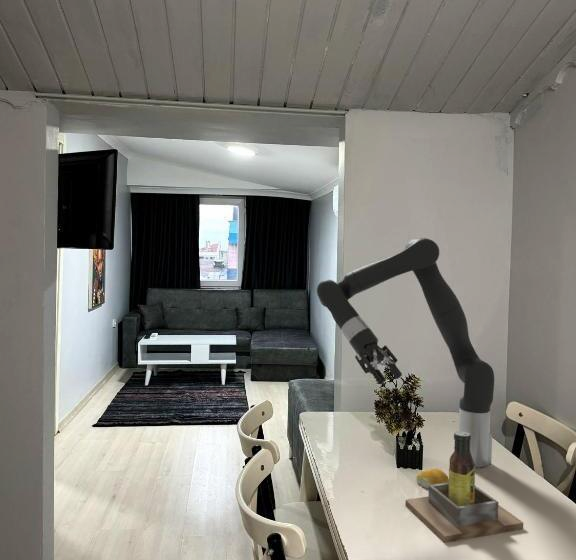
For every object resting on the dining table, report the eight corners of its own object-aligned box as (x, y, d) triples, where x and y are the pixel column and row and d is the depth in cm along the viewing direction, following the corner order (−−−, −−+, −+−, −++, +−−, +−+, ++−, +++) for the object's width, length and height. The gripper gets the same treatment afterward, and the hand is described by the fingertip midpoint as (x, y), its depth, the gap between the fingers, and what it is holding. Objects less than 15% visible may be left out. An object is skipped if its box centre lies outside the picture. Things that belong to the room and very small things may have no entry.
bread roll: (454, 484, 148) (454, 471, 148) (433, 493, 143) (433, 479, 143) (431, 474, 155) (431, 461, 155) (410, 481, 150) (411, 468, 150)
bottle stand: (476, 494, 142) (476, 473, 142) (523, 528, 125) (524, 504, 124) (405, 505, 136) (405, 483, 135) (444, 542, 118) (445, 517, 118)
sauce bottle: (475, 518, 126) (478, 439, 125) (449, 515, 128) (451, 437, 126) (471, 505, 133) (474, 430, 132) (446, 503, 134) (448, 428, 133)
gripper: (352, 329, 146) (386, 376, 138) (380, 324, 156) (413, 368, 149) (337, 345, 150) (369, 392, 142) (365, 339, 160) (396, 382, 153)
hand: (391, 379), depth 146 cm, fingers open, 8 cm apart
